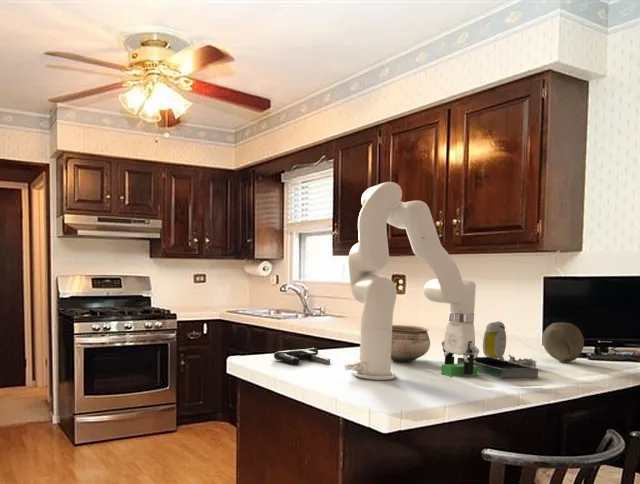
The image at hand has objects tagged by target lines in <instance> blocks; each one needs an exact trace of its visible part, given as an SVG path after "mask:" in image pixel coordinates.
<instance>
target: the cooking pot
mask: <svg viewBox="0 0 640 484" xmlns="http://www.w3.org/2000/svg"><path fill="white" fill-rule="evenodd" d="M429 330H430V329H429V328H427V327H423V326H418V325H417V326H416V325H405V324H404V325H401V324H392V345H391V360H392V361H394V362H397V363H411V362H413V361H416V360H417V359H419V358H421V357H423V356H425V355H426V354H427V353H428V352H429V350H430V348H431V339H430V336H429V333H428V331H429Z"/></svg>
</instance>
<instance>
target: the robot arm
mask: <svg viewBox="0 0 640 484" xmlns="http://www.w3.org/2000/svg"><path fill="white" fill-rule="evenodd" d="M402 198H403V191H402V188H401V186H400V185H399V184H398V183H396V182H394V181H385V182H382V183H379V184H376V185H374V186H370V187H368V188H367V189H366V190H365V191H364V192H363V193H362V195H361V205H362V207H361V209H360V212H359V215H358V219H357V231H358V235H357V236H358V242H357V243H356V244H354V245H353V246H352V247H351V249H350V250H349V253H348V258H347V259H348V260H347V261H348V263H347V264H348V272H349V273H348V274H349V282H350V289H351V293H352V296H353V298H354V299H355V300H356V301H357V302H358V303H361V304H363V308H362V311H361V318H360V337H359V338H360V339H359V360H355V361H356V362H354V363H345V364H344V370H345V371H352V372H353V375H354V376H355V377H357V378H361V379H364V380H365V379H366V380H373V381H374V380H375V381H388V380H389V381H390V380H393V379H395V378H396V373H395V372H393V371H391V369H392V368H391V365H392V359H391V345H392V325H393V321H394V319H393V318H394V311H395V310H394V309H395V305H396V301H397V292H398V291H397V286H396V284H395V283H394V281H393V280H392V279H391V278H389V277H387V276H384V275H379V274H378V272H379V271H382V270H384V269H386V268H387V266H388V265H389V261H390V252H389V242H388V231H387V225H390V226H392V227H395V228H397V229H401V230H405V231H406V234H407V237H408V240H409V243H410V246H411V249H412V252H413V254H414V255H415V257H416V258H418V259H419V260H420V261H422V262H423V263H425V264H426V265H427V266H428V267H430V269H431V270H432V271H433V273H434V275H435V277H436V278H434V279H430V280H429V281H427V282H426V283H425V285H424V286H423V295H424V297H425V298H426V299H427V300H429V301H430V302H433V303H438V304H449V306H448V321H447V322H446V326H445V331H444V336H443V337H444V338H443V341H442V342H441V346H442V351H443V357H444V364H455V356H454V355H456V356H457V355H458V356H462V358H464V359H465V361H466V362H464V368H463V374H464V375H463V376H473V375H472V374H473V366H474V362H475V360H476V358H477V357H479V356H478V355H479V353H480V350H479V348H478V347H477V346H476V332H475V330H476V329H475V324H474V323H475V309H476V308H475V306H476V292H477V291H476V289H477V287H476V286H477V285H476V283H475V281H473V280H463V278H462V275H461V272H460V270H459V269H460V268H459V267H458V265H457V263H456V262H455V260H454V259H453V258H452V257H451V255H450V254H449V252H448V251H447V250H446V249H445V248H444V247H443V245H442V242H441V241H440V238H439V235H438V232H437V228H436V225H435V223H434V222H435V221H434V219H433V217H432V216H433V215H432V213H431V210H430V207H429V206H428V204H427V203H426V202H425V201H422V200H410V201H406V202H405V201H402Z"/></svg>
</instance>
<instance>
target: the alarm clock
mask: <svg viewBox="0 0 640 484" xmlns="http://www.w3.org/2000/svg"><path fill="white" fill-rule="evenodd" d="M482 337H483V338H482V351H483V355H484V357H493V358H497V359H501V360H505V357H504V355H505V351H506V348H507V331H506V326H505V324H504V323H503V322H502V321H500V320H498V321H492V322H489V323H488V324H487V325H486V326H485V330H484V333H483V336H482Z"/></svg>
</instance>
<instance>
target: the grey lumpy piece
mask: <svg viewBox="0 0 640 484" xmlns="http://www.w3.org/2000/svg"><path fill="white" fill-rule="evenodd" d="M508 357H509V359H508V361H509V362H514V363H518V364H522V365H526V366H530V367H534V368H537V364H536V363H537V361H536V360H533V359H532V358H523V359H521V357H519V358H518V359H516V358H515V356H513V355H511V354H508Z"/></svg>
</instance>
